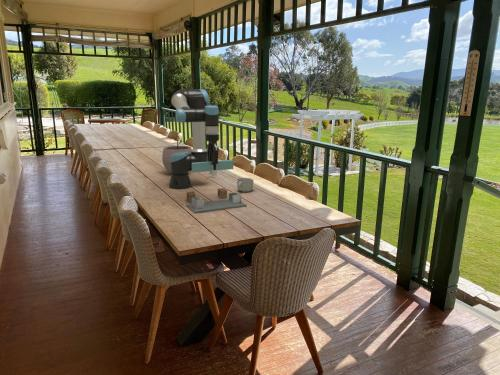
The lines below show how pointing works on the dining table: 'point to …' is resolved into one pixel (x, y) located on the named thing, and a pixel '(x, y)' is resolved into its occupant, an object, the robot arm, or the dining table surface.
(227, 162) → the slat
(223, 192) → the block
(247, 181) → the teacup
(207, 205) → the cap board
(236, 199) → the end caps
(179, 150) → the plant pot
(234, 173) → the dining table surface
